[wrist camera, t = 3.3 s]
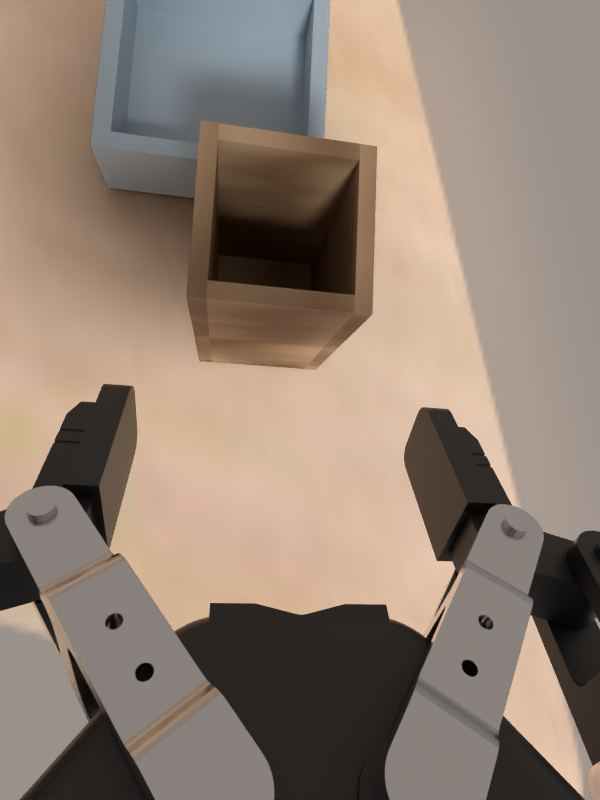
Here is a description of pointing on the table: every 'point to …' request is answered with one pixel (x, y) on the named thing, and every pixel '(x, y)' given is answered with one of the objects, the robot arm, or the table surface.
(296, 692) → the robot arm
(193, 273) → the walnut crate
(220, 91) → the blue crate
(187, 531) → the table surface
